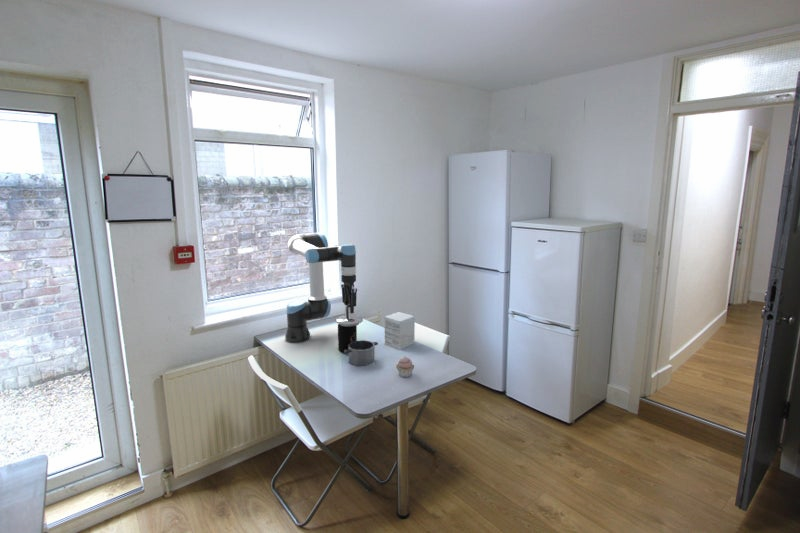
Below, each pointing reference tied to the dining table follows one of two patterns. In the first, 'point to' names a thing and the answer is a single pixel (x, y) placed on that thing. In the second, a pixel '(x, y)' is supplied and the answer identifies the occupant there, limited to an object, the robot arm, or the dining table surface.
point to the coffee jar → (346, 336)
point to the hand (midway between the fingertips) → (349, 317)
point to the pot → (361, 353)
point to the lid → (349, 322)
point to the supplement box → (399, 330)
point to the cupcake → (405, 367)
